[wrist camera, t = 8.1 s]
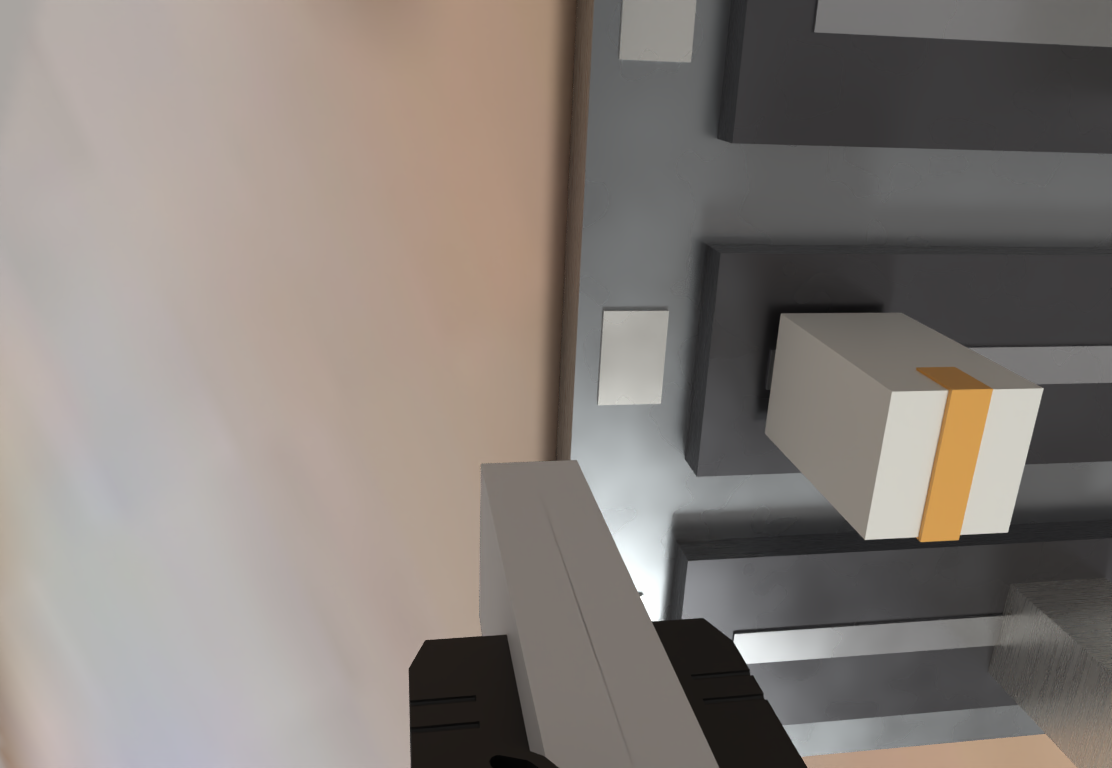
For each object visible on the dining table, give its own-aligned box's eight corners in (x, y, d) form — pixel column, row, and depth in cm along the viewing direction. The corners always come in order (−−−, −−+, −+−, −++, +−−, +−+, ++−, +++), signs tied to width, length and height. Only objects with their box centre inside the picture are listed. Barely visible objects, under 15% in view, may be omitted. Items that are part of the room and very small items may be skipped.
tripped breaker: (781, 311, 20) (895, 390, 16) (902, 310, 21) (1047, 387, 16) (764, 435, 21) (867, 545, 17) (879, 431, 22) (1010, 537, 17)
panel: (588, -257, 19) (710, -451, 11) (1378, -176, 22) (1868, -286, 15) (543, 731, 28) (595, 977, 20) (1108, 683, 31) (1328, 881, 24)
